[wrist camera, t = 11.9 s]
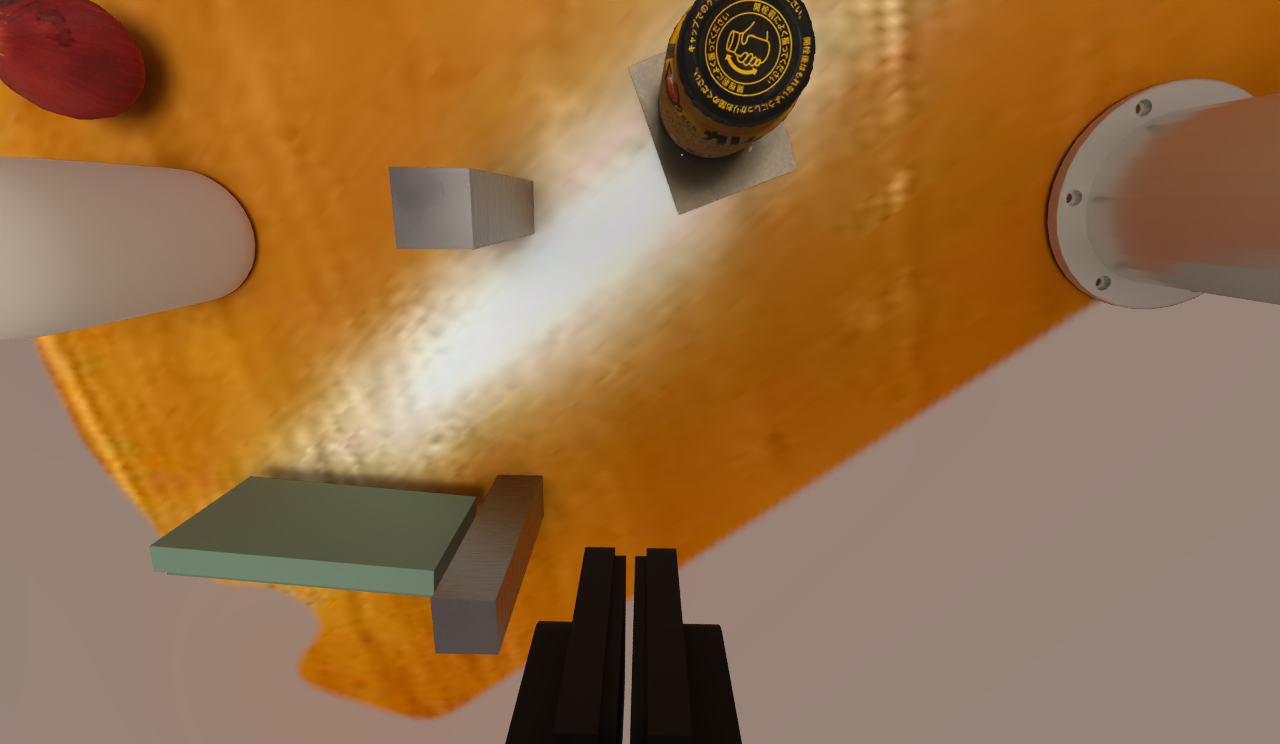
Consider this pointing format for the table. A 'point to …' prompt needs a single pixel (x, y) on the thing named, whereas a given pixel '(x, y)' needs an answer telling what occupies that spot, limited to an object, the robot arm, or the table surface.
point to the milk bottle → (112, 243)
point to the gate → (321, 537)
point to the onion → (69, 57)
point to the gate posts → (513, 510)
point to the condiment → (726, 95)
